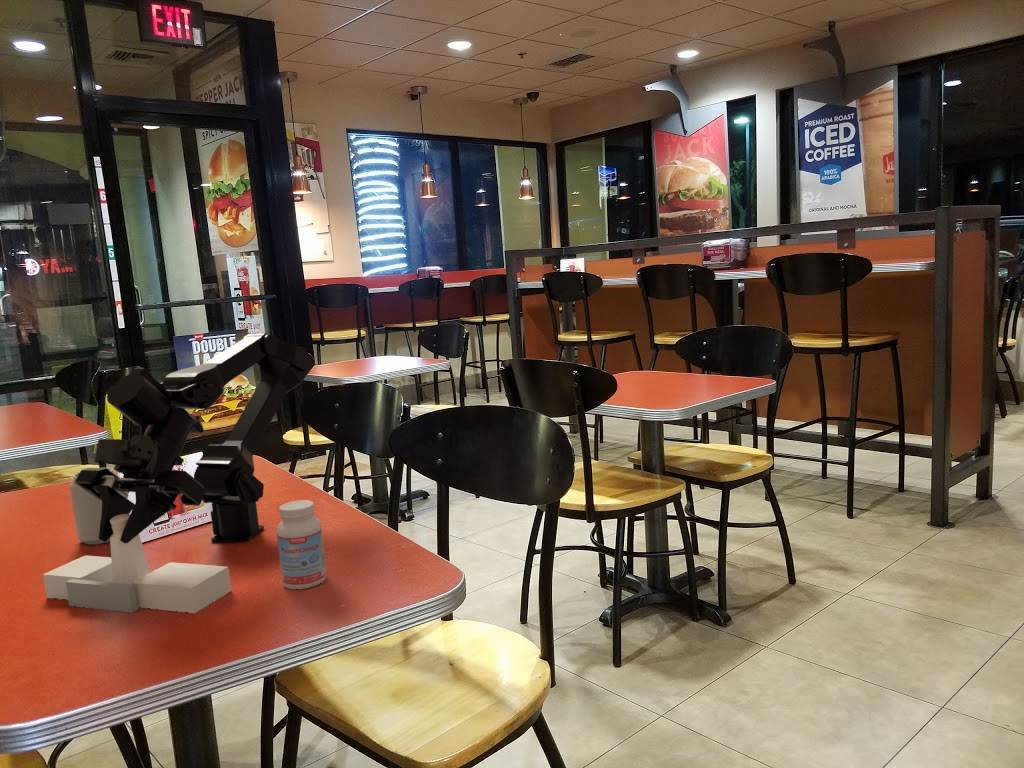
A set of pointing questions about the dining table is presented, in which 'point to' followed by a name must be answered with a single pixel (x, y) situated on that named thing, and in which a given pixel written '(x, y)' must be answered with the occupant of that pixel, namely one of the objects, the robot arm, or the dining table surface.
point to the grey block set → (137, 586)
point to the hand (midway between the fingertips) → (112, 541)
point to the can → (86, 513)
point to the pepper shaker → (126, 554)
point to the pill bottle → (300, 545)
